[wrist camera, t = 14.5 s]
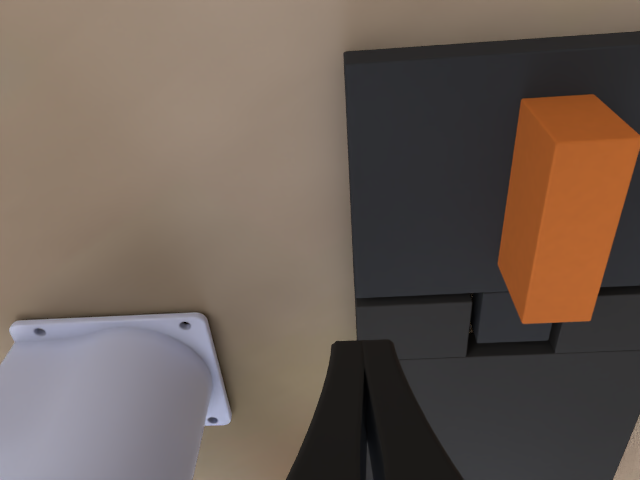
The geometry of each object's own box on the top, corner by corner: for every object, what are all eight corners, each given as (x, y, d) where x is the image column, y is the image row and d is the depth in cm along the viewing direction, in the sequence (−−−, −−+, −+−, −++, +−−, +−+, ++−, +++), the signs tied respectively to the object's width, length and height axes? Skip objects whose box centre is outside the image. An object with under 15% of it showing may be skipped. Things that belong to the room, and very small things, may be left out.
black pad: (362, 464, 33) (364, 488, 32) (354, 284, 25) (355, 306, 24) (601, 457, 32) (612, 481, 31) (672, 269, 24) (690, 292, 23)
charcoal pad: (356, 325, 26) (361, 411, 22) (343, 51, 19) (347, 104, 15) (655, 312, 26) (718, 399, 21) (764, 21, 18) (891, 70, 14)
